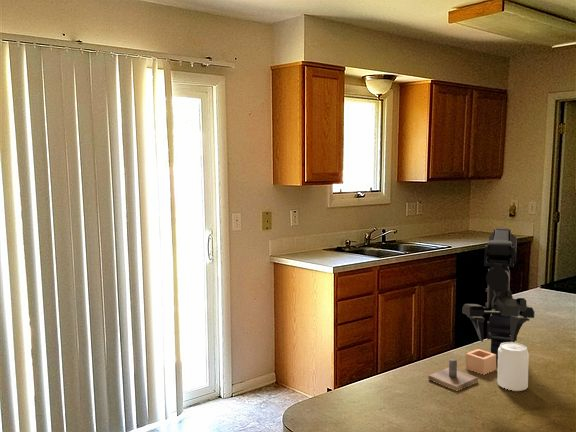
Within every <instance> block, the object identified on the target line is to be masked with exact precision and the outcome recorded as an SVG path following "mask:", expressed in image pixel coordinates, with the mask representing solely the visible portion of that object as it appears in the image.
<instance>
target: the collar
mask: <svg viewBox="0 0 576 432" xmlns="http://www.w3.org/2000/svg"><path fill="white" fill-rule="evenodd" d="M465 370H468V371H471V372H473V371H474V373H476V372H477V374H479V373H480V374H479V375H482V374H483V375H482V376H485V374H486V375H487V373H488V374H490V373H492V372H495V371H496V370H497V359H496V354H493V353H491V351H486V350H483V349H479V348H477V349H474V350H472V351H469V352H467V353H466V352H465ZM494 370H495V371H494ZM489 372H490V373H489Z"/></svg>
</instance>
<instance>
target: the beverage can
mask: <svg viewBox="0 0 576 432" xmlns="http://www.w3.org/2000/svg"><path fill="white" fill-rule="evenodd" d="M529 357H530V356H529V350H528V348H527V346H526V345H524V344H522V343H519V342H505V343H501V344H500V347H499V348H498V359H497V384H498V386H500V387H501V388H503V389H504V388H505V389H504V390H507V389H508V391H510V390H512V392H520V391H521V392H522V391H525V390H527V388H528V387H529V360H530V359H529Z"/></svg>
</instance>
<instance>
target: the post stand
mask: <svg viewBox="0 0 576 432" xmlns="http://www.w3.org/2000/svg"><path fill="white" fill-rule="evenodd" d="M478 378H479V377H477V376H475V375H472V374H470V373H467V372H464V371H461V370H458V360H457V359H455V358H449V360H448V367H446V368H444V369H441V370H439V371H436V372H433V373H431V374H428V379H430V380H432V381H435V382H437V383H440V384H442V385H444V386H447V387H450V388H452V389H454V390H459V389H461V388H464V387H466V386H468V385H470V386H472V385H471V384H473V383H475V384H477V383H478ZM432 381H431V382H432ZM476 382H477V383H476ZM437 383H436V384H437ZM473 385H474V384H473ZM444 386H443V387H444ZM468 387H469V386H468ZM466 388H467V387H466ZM464 389H465V388H464ZM454 390H453V391H454ZM461 390H462V389H461ZM459 391H460V390H459Z"/></svg>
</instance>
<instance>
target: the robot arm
mask: <svg viewBox="0 0 576 432" xmlns="http://www.w3.org/2000/svg"><path fill="white" fill-rule="evenodd" d="M517 240H518V239H517V237H516V236H515V235H514V234H513V233H512V232H511V229H509V228H507V227H506V228H501V227H500V228H499V227H497V228H493V233H491V234H490V235H489V236H488V242H487V244H486V245H485V246H484V258H483V266H488V267H489V268H488V269H487V270H488V271H487V273H486V274H485V281H486V283H487V288H485V293H487V299H486V300H487V302H485V303H484V306H482V305H480V304H478V303H464V304H463V306H462V307H461V309H462V310H461V311H462V314H463V315H466V317H467V318H469V319H470V321H471V323H472V324H473V326H474V328H475V331H476V334H477V336H478V339H479V341H480V342H484V335H485V334H484V322H485V320H486V317H483V316H484V315H487V314H488V315H490V316H489V320H487V322H486V340H490V353H493V354H496V360H498V348H499V347H500V344H501V343H505V342H513V343H516V342H517V341H518V340H517V339H518V338H517V337H518V335H519V333H520V330H521V328H522V326H523V325H524V324H525V323H526V322H529V321H531V320H530V319H535V317H536V316H535V315H536V314H535V310H534V308H533V307H531V306H527V304H528V303H527V299H525V298H524V297H517V298H514V297H513V292H512V290H510V289H511V288H510V281H511V276H510V275H511V270H510V267H511V268H513V267H514V266H515V265H517V242H518V241H517Z"/></svg>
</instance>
